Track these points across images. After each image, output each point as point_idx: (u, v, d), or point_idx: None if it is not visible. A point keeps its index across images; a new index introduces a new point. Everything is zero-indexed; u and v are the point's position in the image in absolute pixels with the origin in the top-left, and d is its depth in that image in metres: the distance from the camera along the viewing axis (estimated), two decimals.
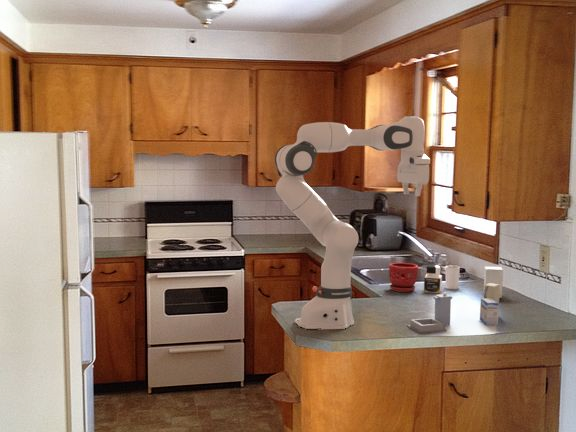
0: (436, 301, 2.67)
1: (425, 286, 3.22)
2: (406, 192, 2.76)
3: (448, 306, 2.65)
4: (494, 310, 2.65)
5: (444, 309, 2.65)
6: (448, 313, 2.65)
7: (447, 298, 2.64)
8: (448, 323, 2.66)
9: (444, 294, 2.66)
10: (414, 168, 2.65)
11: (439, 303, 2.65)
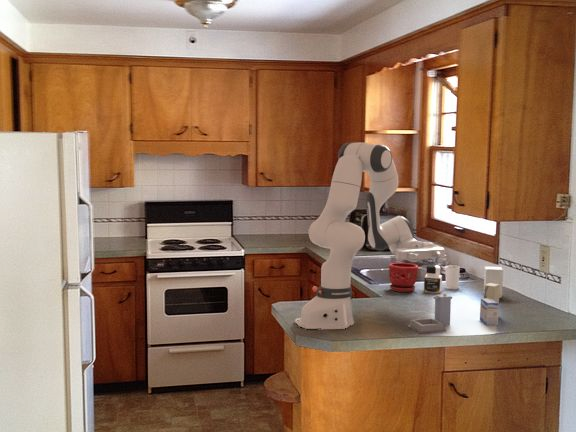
0: (436, 301, 2.67)
1: (425, 286, 3.22)
2: None
3: (448, 306, 2.65)
4: (494, 310, 2.65)
5: (444, 309, 2.65)
6: (448, 313, 2.65)
7: (447, 298, 2.65)
8: (448, 323, 2.66)
9: (444, 294, 2.66)
10: (429, 246, 2.88)
11: (439, 303, 2.65)
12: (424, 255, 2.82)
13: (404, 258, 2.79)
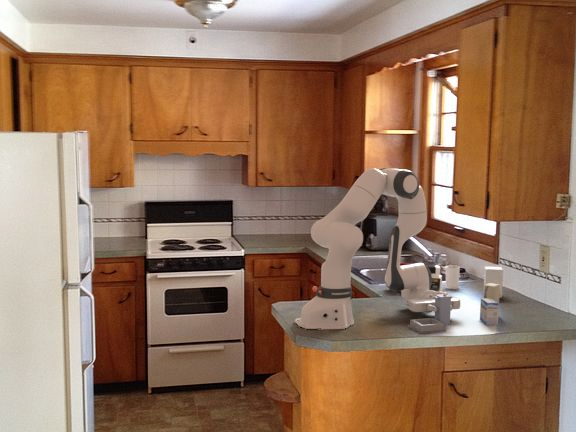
0: (436, 301, 2.67)
1: None
2: None
3: (448, 306, 2.65)
4: (494, 310, 2.65)
5: (444, 309, 2.65)
6: (448, 313, 2.65)
7: (447, 298, 2.65)
8: (448, 323, 2.66)
9: (444, 294, 2.66)
10: None
11: (439, 303, 2.65)
12: None
13: (418, 310, 2.68)
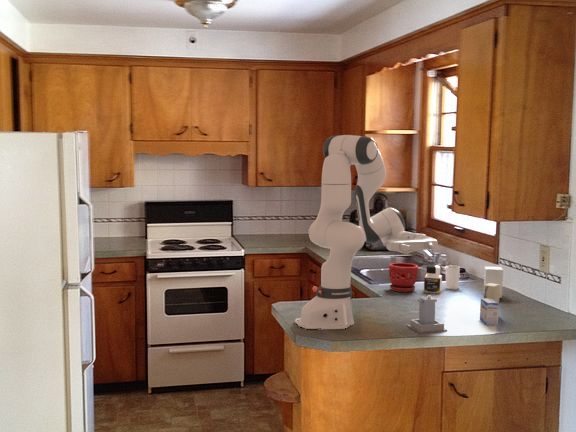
0: (420, 304, 2.61)
1: (425, 286, 3.22)
2: None
3: (432, 309, 2.59)
4: (494, 310, 2.65)
5: (428, 312, 2.58)
6: (432, 316, 2.59)
7: (431, 301, 2.58)
8: None
9: (428, 297, 2.60)
10: (421, 238, 2.83)
11: (423, 306, 2.58)
12: (416, 246, 2.77)
13: (396, 249, 2.74)
